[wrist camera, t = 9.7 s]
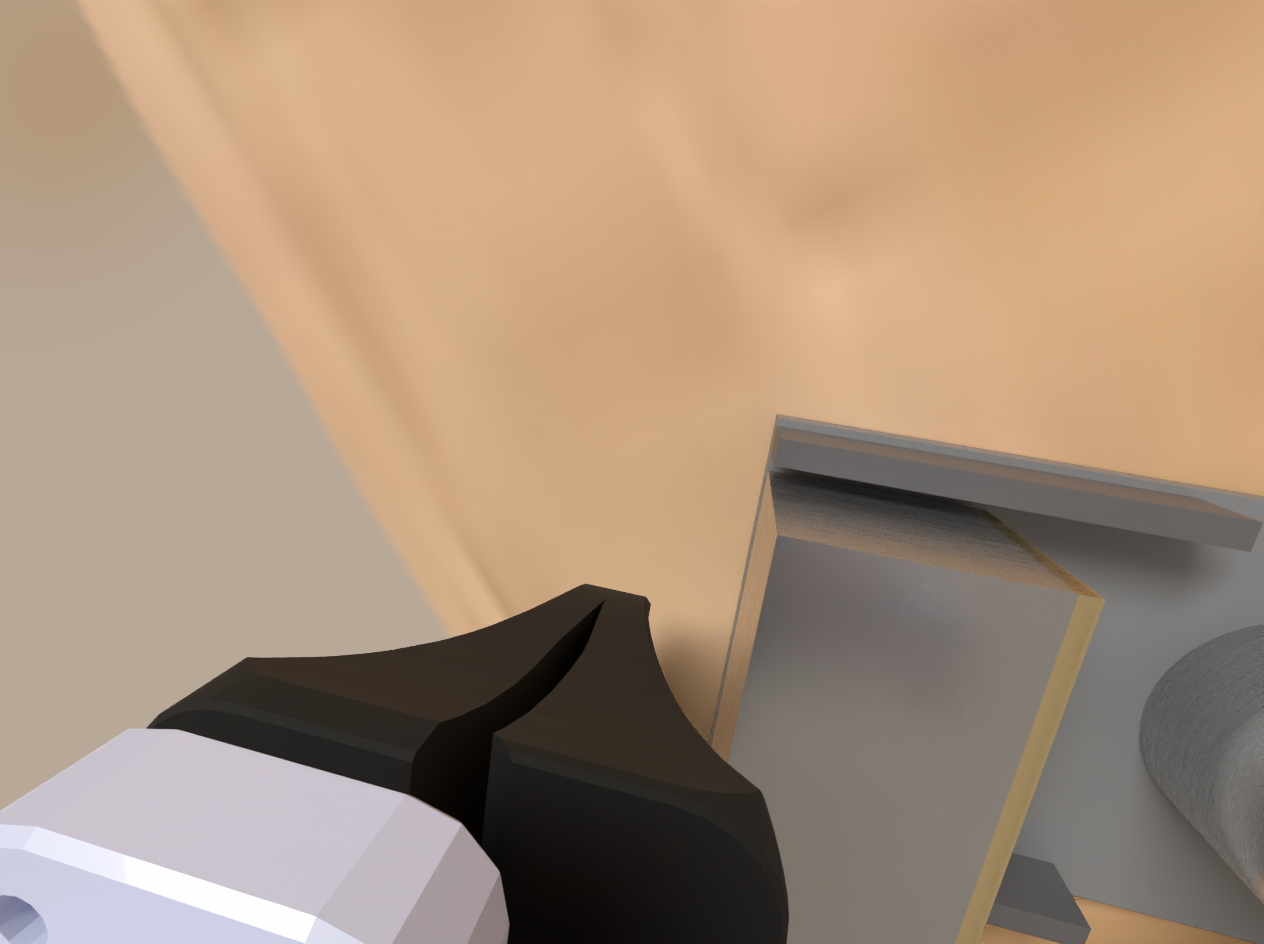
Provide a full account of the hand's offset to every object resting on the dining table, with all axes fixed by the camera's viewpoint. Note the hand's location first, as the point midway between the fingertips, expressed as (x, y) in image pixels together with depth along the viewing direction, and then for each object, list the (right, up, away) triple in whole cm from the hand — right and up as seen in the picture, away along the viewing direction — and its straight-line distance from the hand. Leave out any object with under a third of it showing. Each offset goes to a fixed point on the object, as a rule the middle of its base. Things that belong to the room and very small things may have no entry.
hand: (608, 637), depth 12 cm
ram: (+5, 0, +2) cm, 5 cm away
